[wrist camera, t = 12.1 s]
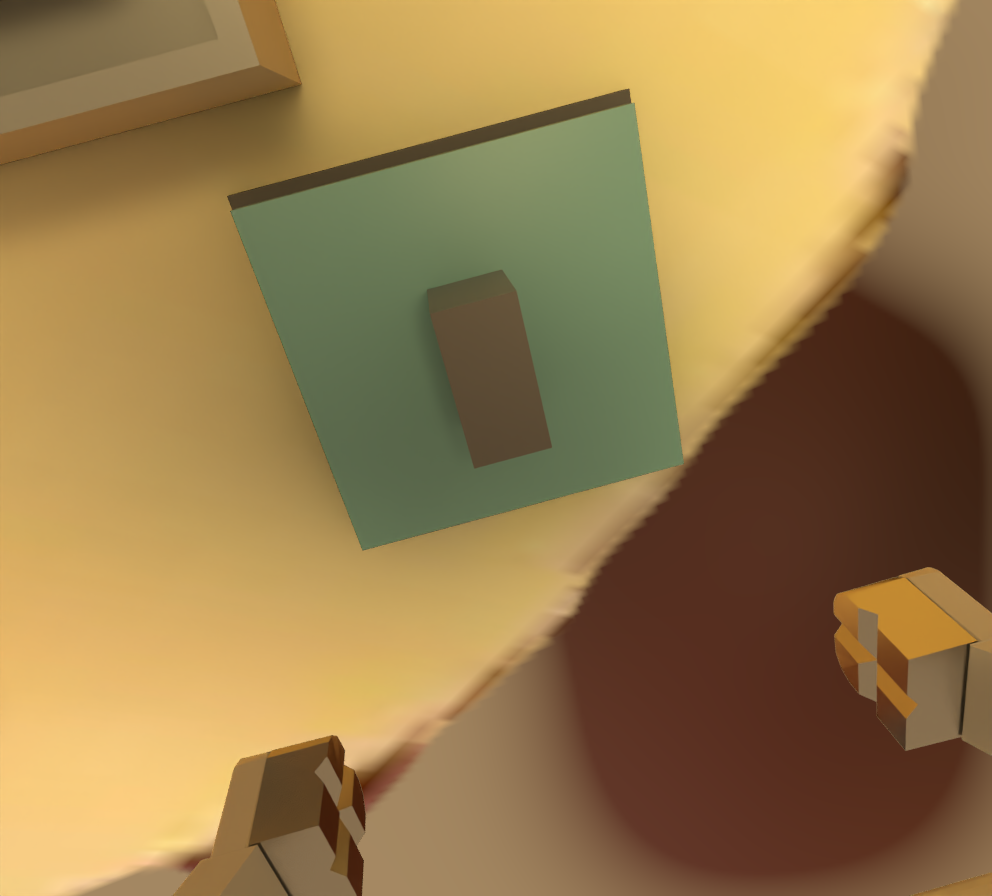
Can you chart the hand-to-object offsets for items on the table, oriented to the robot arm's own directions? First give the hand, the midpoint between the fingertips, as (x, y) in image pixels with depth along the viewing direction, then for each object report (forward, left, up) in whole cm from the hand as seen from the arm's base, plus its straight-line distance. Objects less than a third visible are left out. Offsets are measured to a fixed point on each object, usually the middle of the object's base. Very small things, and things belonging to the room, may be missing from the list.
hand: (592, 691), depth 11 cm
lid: (0, 0, -21) cm, 21 cm away
